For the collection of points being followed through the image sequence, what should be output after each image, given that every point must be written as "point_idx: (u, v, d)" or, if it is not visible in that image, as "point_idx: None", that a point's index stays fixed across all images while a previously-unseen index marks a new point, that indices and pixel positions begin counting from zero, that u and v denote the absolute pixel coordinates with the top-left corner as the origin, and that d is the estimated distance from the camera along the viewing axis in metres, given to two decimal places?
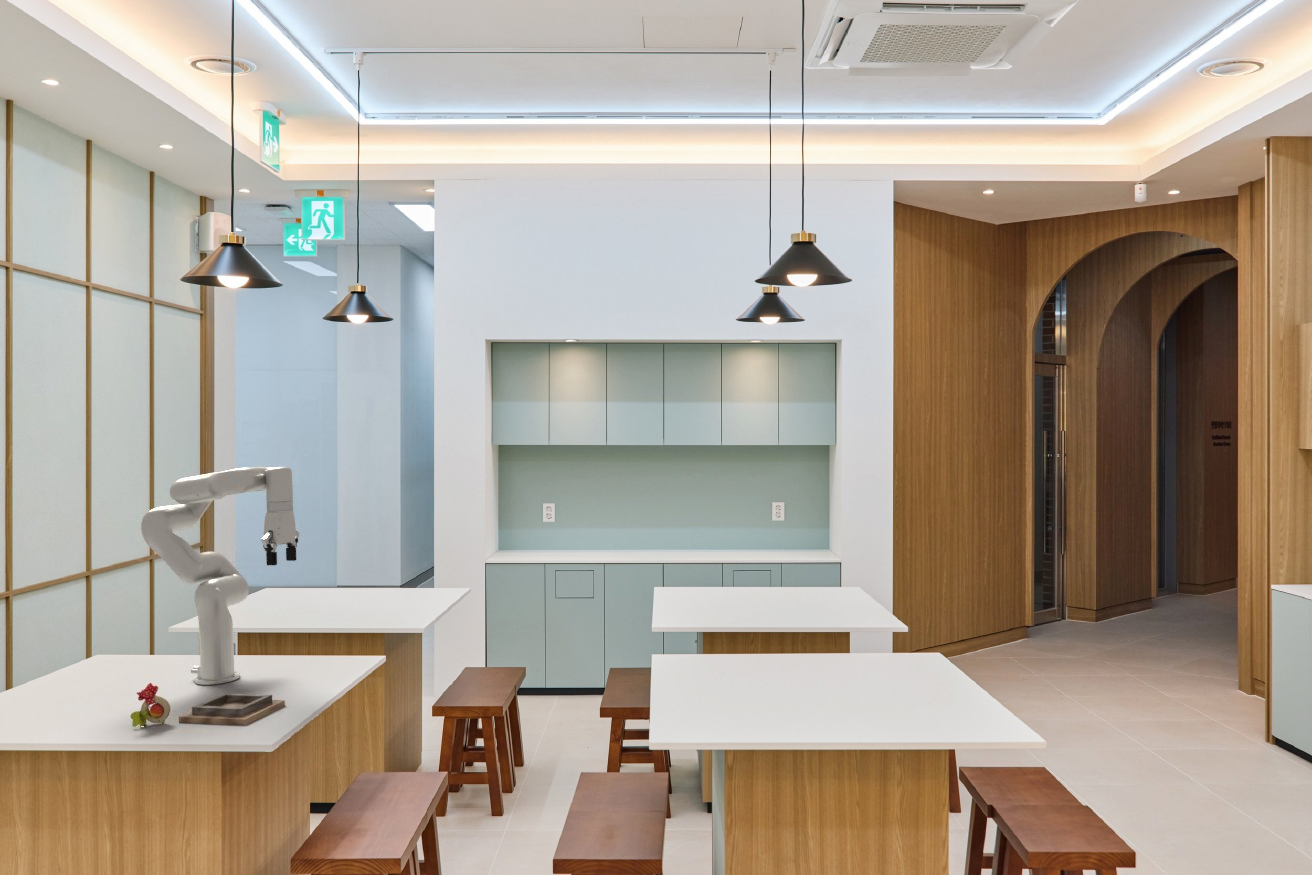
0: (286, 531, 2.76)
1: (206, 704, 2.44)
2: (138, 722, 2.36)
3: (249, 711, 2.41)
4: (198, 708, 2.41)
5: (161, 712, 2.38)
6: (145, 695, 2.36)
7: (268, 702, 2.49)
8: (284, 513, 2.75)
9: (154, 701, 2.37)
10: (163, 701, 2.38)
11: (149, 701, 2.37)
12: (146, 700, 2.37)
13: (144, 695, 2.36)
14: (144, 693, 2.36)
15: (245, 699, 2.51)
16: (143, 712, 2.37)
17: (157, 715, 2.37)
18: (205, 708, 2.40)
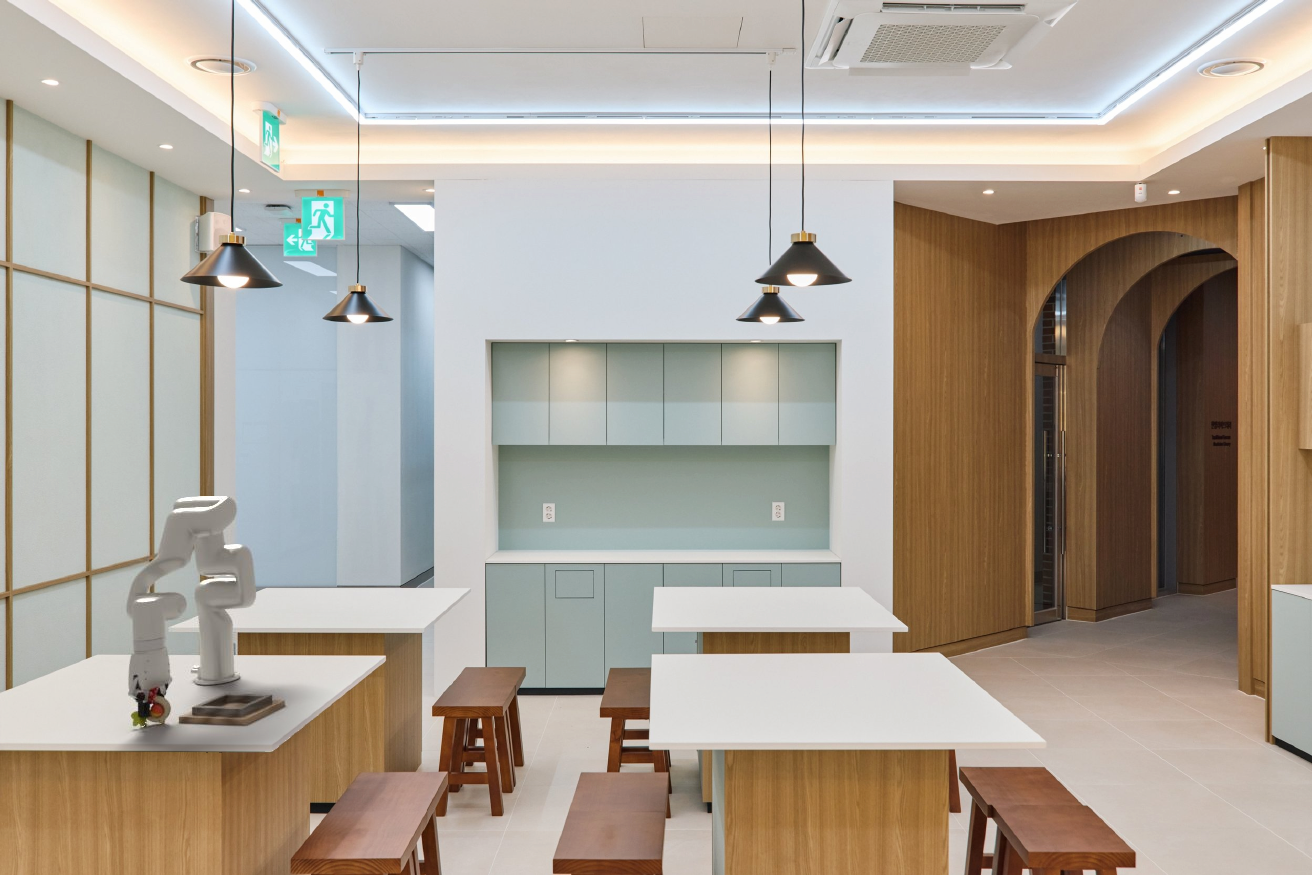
0: (156, 673, 2.37)
1: (206, 704, 2.44)
2: (138, 721, 2.36)
3: (249, 711, 2.41)
4: (198, 708, 2.41)
5: (161, 712, 2.38)
6: None
7: (268, 702, 2.49)
8: (153, 653, 2.36)
9: (154, 701, 2.37)
10: (164, 701, 2.38)
11: (149, 701, 2.37)
12: None
13: None
14: None
15: (245, 699, 2.51)
16: None
17: (157, 715, 2.37)
18: (205, 708, 2.40)
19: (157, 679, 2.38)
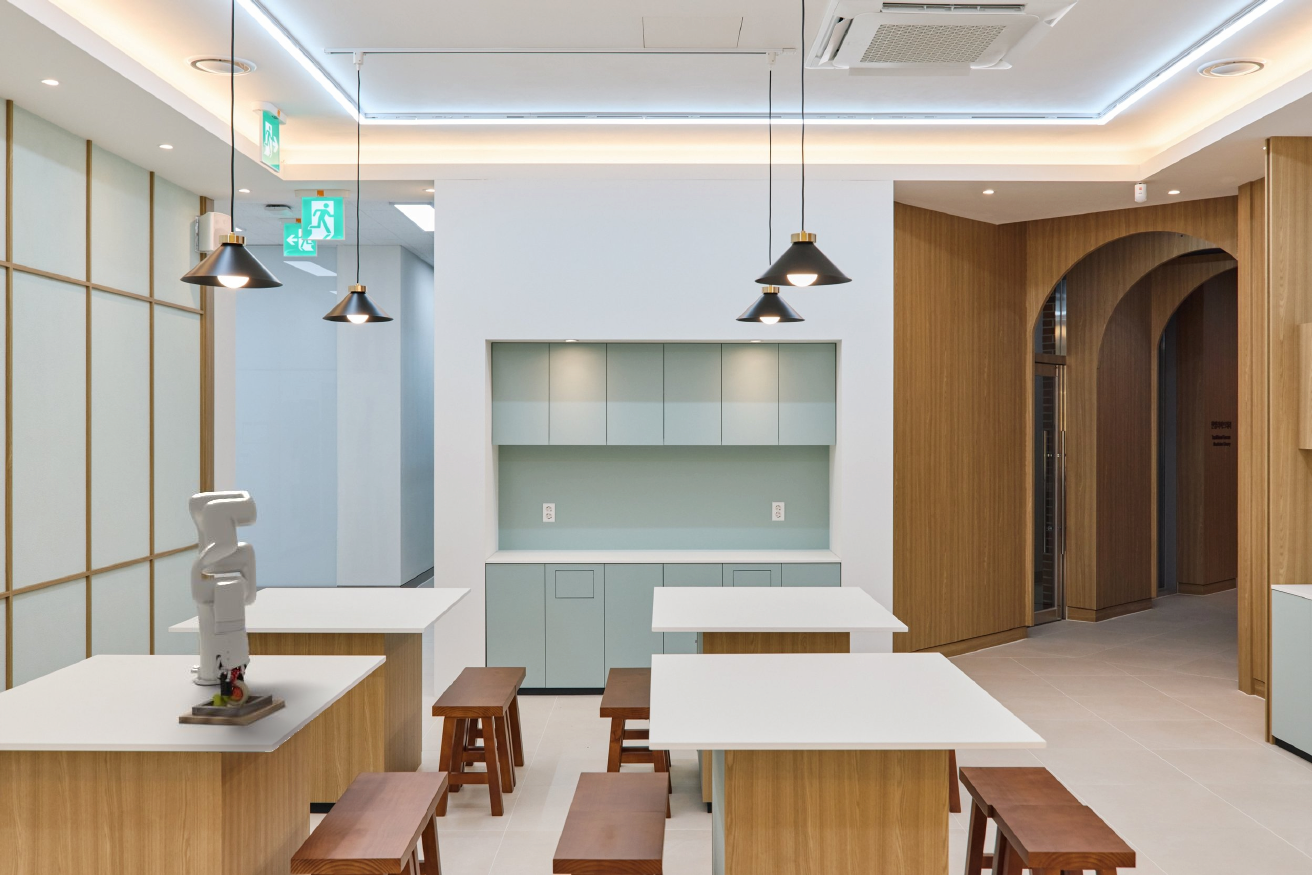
0: (237, 654, 2.45)
1: (206, 704, 2.44)
2: (218, 704, 2.43)
3: (249, 711, 2.41)
4: (198, 708, 2.41)
5: (240, 696, 2.45)
6: None
7: (268, 702, 2.49)
8: (235, 634, 2.44)
9: (234, 684, 2.45)
10: (243, 685, 2.45)
11: None
12: None
13: None
14: None
15: None
16: None
17: (236, 698, 2.44)
18: (205, 708, 2.40)
19: (238, 659, 2.45)
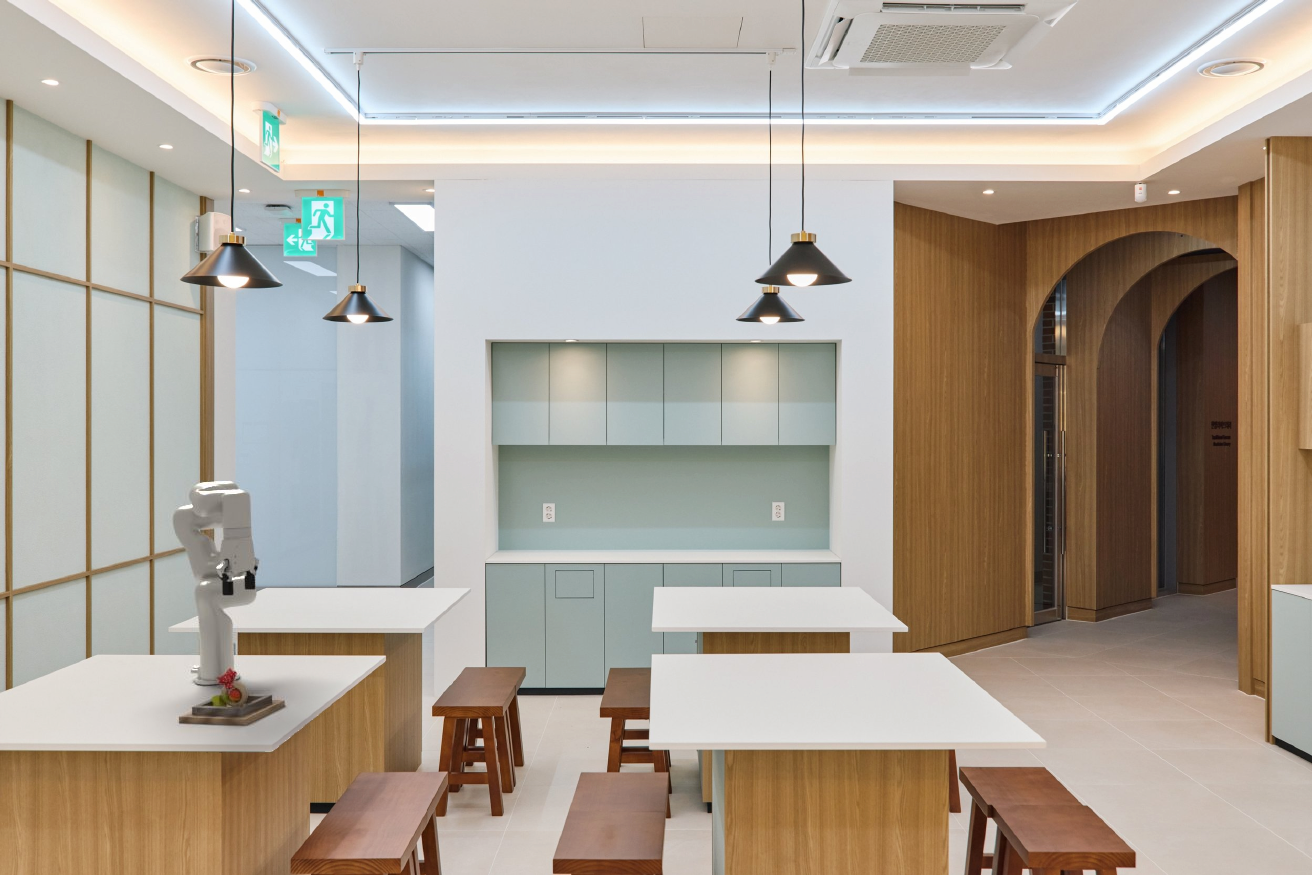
0: (244, 559, 2.62)
1: (206, 704, 2.44)
2: (218, 705, 2.43)
3: (249, 711, 2.41)
4: (198, 708, 2.41)
5: (239, 697, 2.44)
6: (224, 680, 2.43)
7: (268, 702, 2.49)
8: (241, 540, 2.61)
9: (233, 686, 2.44)
10: (241, 686, 2.44)
11: (228, 686, 2.44)
12: (225, 685, 2.44)
13: (223, 680, 2.43)
14: (223, 678, 2.43)
15: None
16: (223, 696, 2.45)
17: (235, 700, 2.44)
18: (205, 708, 2.40)
19: (244, 564, 2.63)
